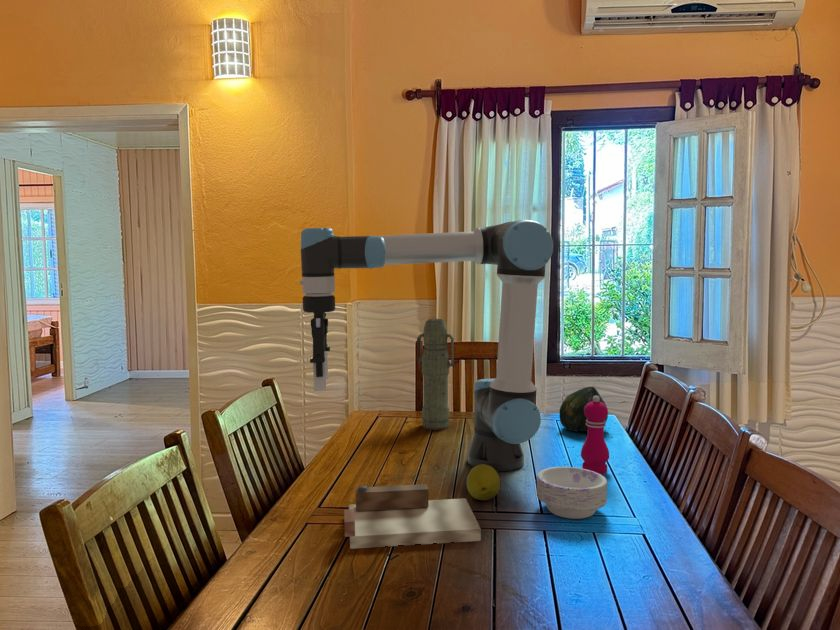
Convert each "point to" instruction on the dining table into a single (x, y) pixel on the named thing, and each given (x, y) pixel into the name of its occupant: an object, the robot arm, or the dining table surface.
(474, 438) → the robot arm
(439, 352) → the thermos
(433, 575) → the dining table surface
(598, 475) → the paper bowls
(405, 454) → the dining table surface
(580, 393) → the squash
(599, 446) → the pepper mill
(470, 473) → the lemon
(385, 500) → the walnut leg
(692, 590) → the dining table surface
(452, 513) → the stool seat
